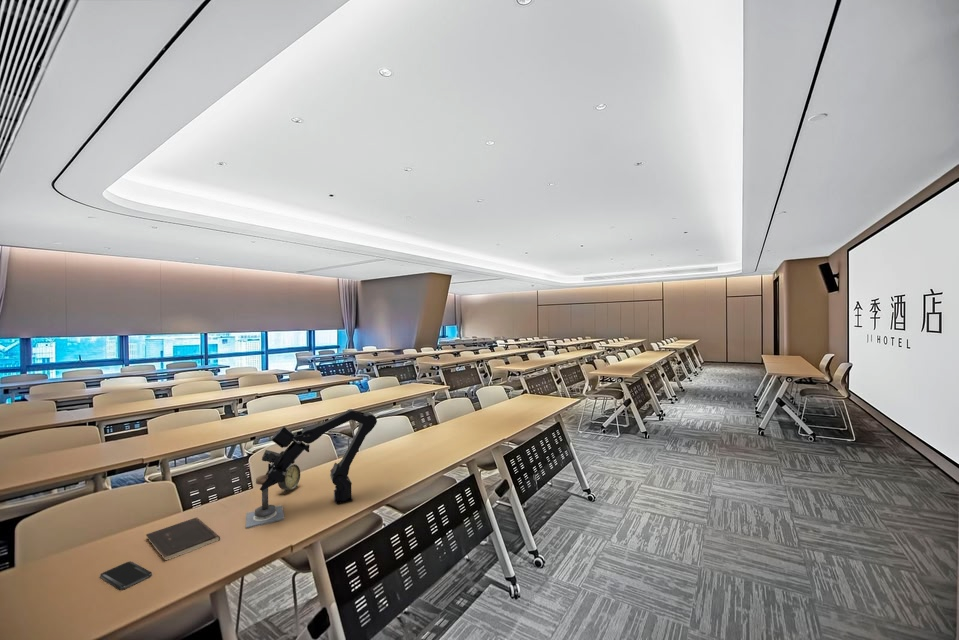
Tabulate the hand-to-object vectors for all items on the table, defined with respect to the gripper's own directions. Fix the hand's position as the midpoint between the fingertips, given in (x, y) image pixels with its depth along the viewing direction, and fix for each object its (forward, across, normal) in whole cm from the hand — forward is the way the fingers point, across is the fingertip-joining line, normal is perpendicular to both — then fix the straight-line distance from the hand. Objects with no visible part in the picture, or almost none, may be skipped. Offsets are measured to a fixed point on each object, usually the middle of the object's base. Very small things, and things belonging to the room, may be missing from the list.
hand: (260, 487), depth 158 cm
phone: (+34, +21, -17) cm, 44 cm away
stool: (+6, 0, +8) cm, 11 cm away
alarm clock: (+2, -23, +16) cm, 28 cm away
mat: (+8, 0, +10) cm, 12 cm away
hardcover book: (+27, +4, -8) cm, 28 cm away
